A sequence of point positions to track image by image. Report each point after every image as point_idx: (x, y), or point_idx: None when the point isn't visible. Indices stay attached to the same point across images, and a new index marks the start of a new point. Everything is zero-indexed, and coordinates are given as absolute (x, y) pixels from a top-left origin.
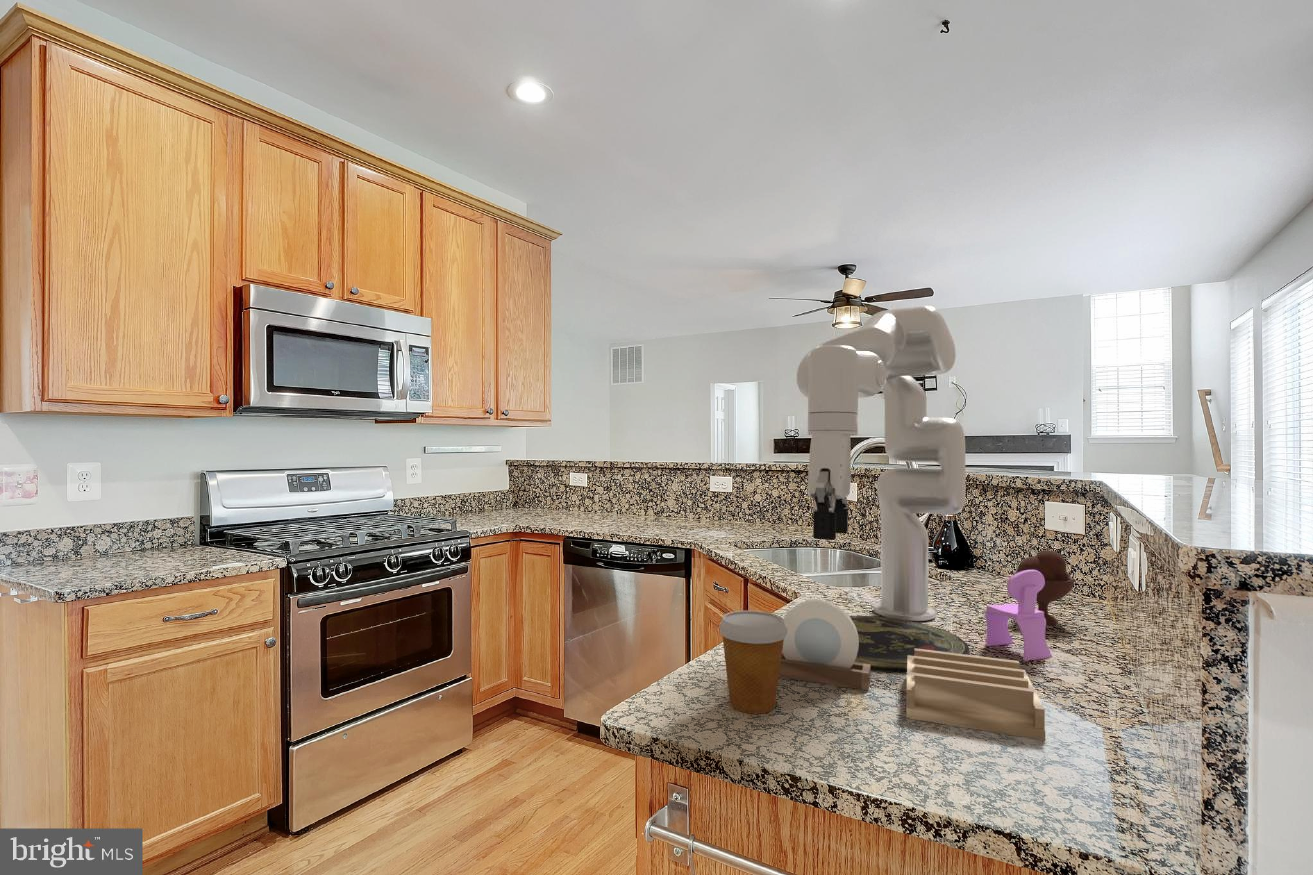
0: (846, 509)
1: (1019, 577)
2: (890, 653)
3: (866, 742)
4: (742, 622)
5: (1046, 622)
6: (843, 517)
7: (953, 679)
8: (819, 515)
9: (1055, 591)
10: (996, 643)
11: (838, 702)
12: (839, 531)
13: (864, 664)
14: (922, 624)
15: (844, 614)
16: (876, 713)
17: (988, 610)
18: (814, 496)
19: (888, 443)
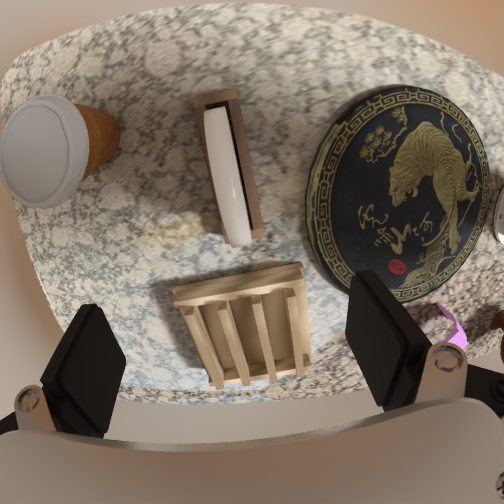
0: (385, 407)
1: None
2: (360, 234)
3: (99, 268)
4: (20, 146)
5: (492, 324)
6: (369, 373)
7: (201, 345)
8: (46, 390)
9: (501, 351)
10: (441, 310)
11: (164, 216)
12: (349, 318)
13: (259, 229)
14: (475, 242)
15: (233, 240)
16: (164, 259)
17: (454, 329)
18: (185, 445)
19: None
